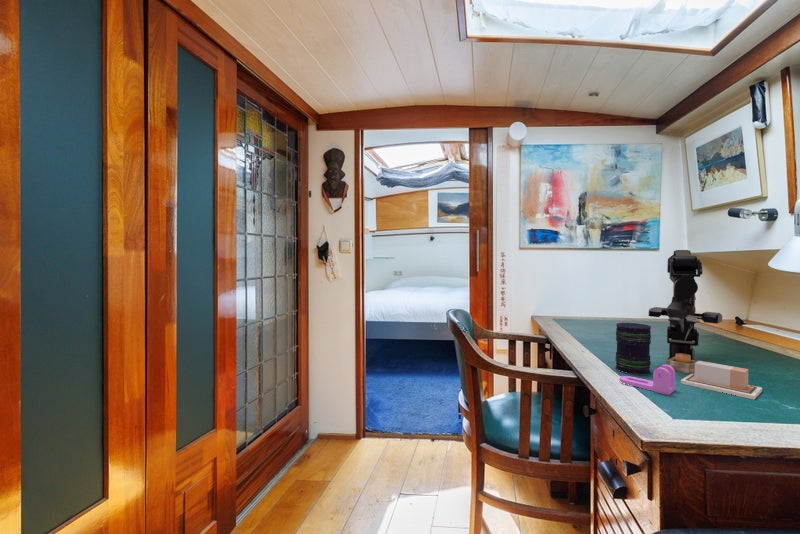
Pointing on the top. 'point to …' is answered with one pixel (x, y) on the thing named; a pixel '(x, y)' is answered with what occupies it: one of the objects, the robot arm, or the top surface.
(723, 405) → the top surface
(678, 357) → the button
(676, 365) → the button block
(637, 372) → the storage jar
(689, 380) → the picture board
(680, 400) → the top surface
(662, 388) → the bracket
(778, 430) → the top surface
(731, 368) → the two-tone rectangular block
